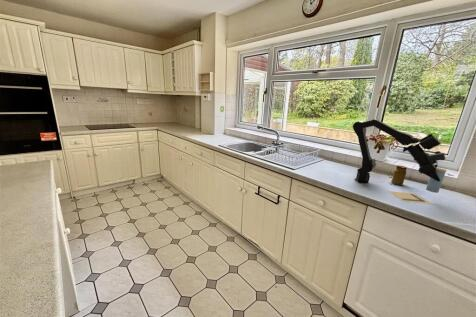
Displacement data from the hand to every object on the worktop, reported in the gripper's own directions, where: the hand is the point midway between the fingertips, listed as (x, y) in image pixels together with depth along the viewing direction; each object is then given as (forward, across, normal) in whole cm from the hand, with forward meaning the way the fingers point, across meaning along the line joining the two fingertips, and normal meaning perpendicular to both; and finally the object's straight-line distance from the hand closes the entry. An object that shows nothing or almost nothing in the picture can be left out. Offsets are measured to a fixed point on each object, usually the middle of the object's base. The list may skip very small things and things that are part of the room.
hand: (439, 179), depth 107 cm
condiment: (-3, +16, +22) cm, 27 cm away
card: (+3, -5, +15) cm, 16 cm away
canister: (+4, 0, +6) cm, 7 cm away
